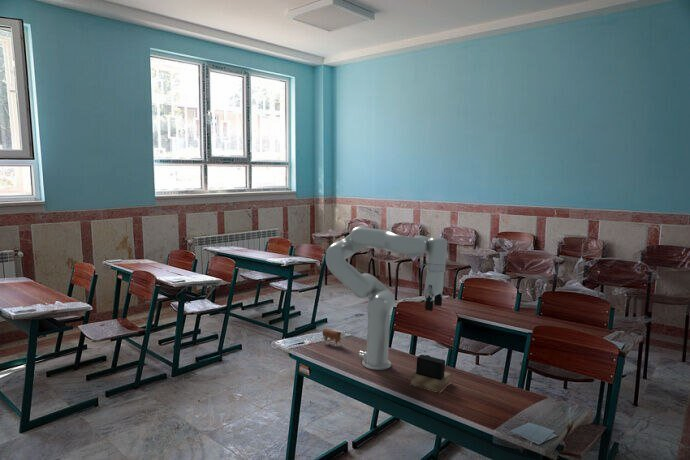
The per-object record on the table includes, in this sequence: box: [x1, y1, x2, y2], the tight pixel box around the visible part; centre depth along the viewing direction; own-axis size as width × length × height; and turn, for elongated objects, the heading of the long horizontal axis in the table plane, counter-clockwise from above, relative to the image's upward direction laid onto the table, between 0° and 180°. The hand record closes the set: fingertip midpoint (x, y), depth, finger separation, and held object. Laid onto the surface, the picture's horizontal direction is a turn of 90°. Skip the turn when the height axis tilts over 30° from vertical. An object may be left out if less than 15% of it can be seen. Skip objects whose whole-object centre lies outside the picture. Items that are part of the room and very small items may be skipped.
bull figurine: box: [322, 328, 347, 348], centre depth 236 cm, size 4×13×8 cm, turn 57°
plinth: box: [409, 371, 452, 392], centre depth 196 cm, size 13×13×4 cm
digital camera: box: [415, 354, 446, 380], centre depth 195 cm, size 10×5×7 cm, turn 59°
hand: (433, 307), depth 204 cm, fingers open, 9 cm apart
